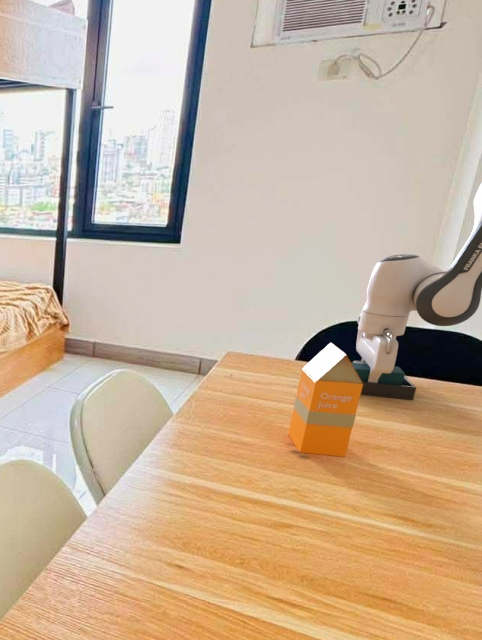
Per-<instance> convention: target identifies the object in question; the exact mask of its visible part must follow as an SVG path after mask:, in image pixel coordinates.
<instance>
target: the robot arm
mask: <svg viewBox="0 0 482 640" xmlns="http://www.w3.org/2000/svg"><path fill="white" fill-rule="evenodd" d="M473 210H474V222H473V223H474V224H473V227H472V231H471V233H470V235H469V237H468V238H467V240H466V242H465V244H464V245H463V247H462V248H461V250H459V252H458V254H457V256H456V257H455V259H454V261H453V262H452V263H451V265H450V266H449V268H448V269H446V270H445V269H442V268H439V267H438V266H436V265H433V264H431V263H429V262H428V261H426V260H424V259H423V258H422V257H421V256H420V255H417V254H395V255H394V254H393V255H389V256H385V257H383V258H382V259H380V260H378V261H377V262H376V264H375V266H374V267H373V270H372V272H371V275H370V279H369V282H368V285H367V289H366V302H365V303H364V306H363V307H362V310H361V314H359V315H358V318H357V324H358V326H357V335H356V337H357V338H356V343H355V345H356V346H355V349H356V352H357V353H358V355H359V356H360V357H361V361H362V364H368V365H369V367H370V374H369V376H368V378H367V382H372V383H377V382H378V379H379V377H380V376H381V374H382V373H391V372H392V371H393V369H394V366H395V365H396V361H397V356H398V350H399V341H398V340H397V337H399V336H403V335H404V334H405V331H406V329H407V324H408V320H409V317H410V313H411V312H414V311H415V312H417V314H418V316H419V317H420V318H421V319H422V320H423V321H424V322H425V323H427V324H430V325H433V326H438V327H451V326H455V325H459V324H461V323H464V322H466V321H467V320H469V319H470V318H471V317H473V315H475V313H476V312H477V311H478V310H479V309H478V308H479V306H480V303H481V298H482V182H481V184H480V185H479V187H478V188H477V191H476V194H475V196H474V199H473Z"/></svg>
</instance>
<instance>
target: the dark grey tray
mask: <svg viewBox="0 0 482 640" xmlns="http://www.w3.org/2000/svg"><path fill="white" fill-rule="evenodd" d="M362 383H363V387H362V391H361V395H362V396H372V397H379V398H380V397H381V398H390V399H392V398H393V399H400V400H410V401H413V400H414V398H415V394H416V390H417V386H416V385H415V384H414V383H413V382H412V381H411V380H410V379H409V378H408V377H407V376H406V374H405V375H404V379H403V383H402V385H392V384H382V383H372V382H362ZM361 395H360V396H361Z"/></svg>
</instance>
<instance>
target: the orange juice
mask: <svg viewBox="0 0 482 640" xmlns="http://www.w3.org/2000/svg"><path fill="white" fill-rule="evenodd" d="M351 363H352V362H351V360H350V359H349V357H348V355H347V354H346V352H344V351H343V350H341V349H340V348H339V347H338V346H337V345H335V344H334V343H332V342H329V343H328V344H327V345H326V346H325V347H324V348H323V349H321V350H320V351H319V352H318V353H317V354H316V355H315V356H314V357H313V358H312V359H310V360H309V361H308V363H307V364H305V365H304V366H303V367H302V368H301V371H300V378H299V381H298V386H297V391H296V396H295V400H294V405H293V410H292V414H291V415H292V416H291V419H290V424H289V429H288V433H287V435H288V437H289V438H290V440H291V441H292V443H293V444H294V446H295V447H296V449H297V450H298V452H299V453H303V454H314V455H323V456H332V457H333V456H334V457H342V458H343V457H346V455H347V452H348V451H347V450H348V447H349V443H350V437H351V435H352V430H353V428H354V424H355V421H356V420H355V419H356V416H357V415H356V414H357V410H358V406H359V403H360V398H361V391H362V387H363V383H362V381H361V379H360V378H359V376H358V374H357V373H356V371H355V369H354V367H353V366H352V364H351Z"/></svg>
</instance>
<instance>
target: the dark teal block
mask: <svg viewBox="0 0 482 640" xmlns="http://www.w3.org/2000/svg"><path fill="white" fill-rule="evenodd" d="M351 364H352V366H353V367H354V369H355V371H356V373H357V374H358V376H359V378H360V379H361V381H362V382H367V378H368V376H369V374H370V367H369V365H368V364H361V363H352V362H351ZM404 375H405V376H406V373H405V372H404V370H403V369H402V368H401V367H400V366H395V365H394V369H393V371H392V372H391V373H382V374H381V376H380V377H379V379H378V382H377V383H382V384H392V385H402V383H403V379H404Z"/></svg>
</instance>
